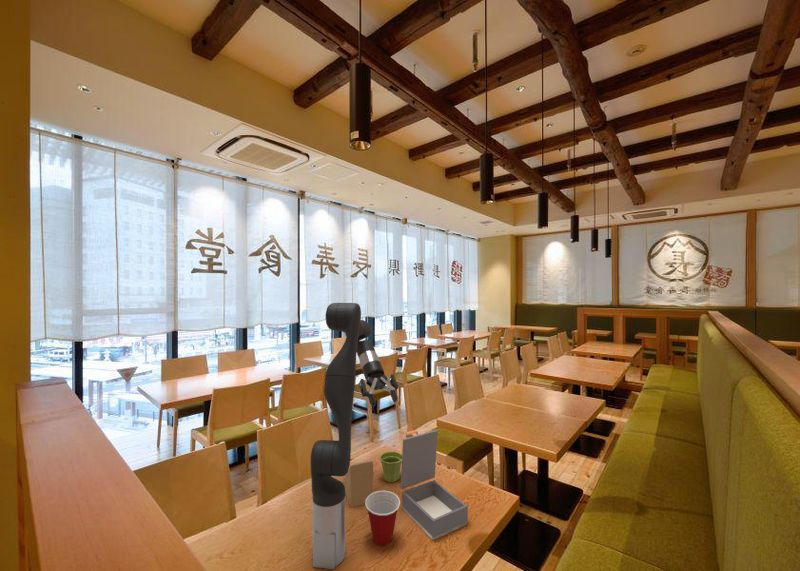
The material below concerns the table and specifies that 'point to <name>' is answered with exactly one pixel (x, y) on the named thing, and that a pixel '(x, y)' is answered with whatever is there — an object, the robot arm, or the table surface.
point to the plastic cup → (382, 515)
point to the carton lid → (418, 457)
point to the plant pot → (391, 465)
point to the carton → (434, 509)
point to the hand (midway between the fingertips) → (385, 403)
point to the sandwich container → (359, 483)
